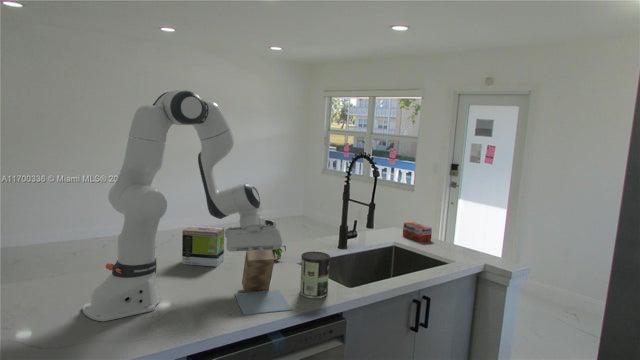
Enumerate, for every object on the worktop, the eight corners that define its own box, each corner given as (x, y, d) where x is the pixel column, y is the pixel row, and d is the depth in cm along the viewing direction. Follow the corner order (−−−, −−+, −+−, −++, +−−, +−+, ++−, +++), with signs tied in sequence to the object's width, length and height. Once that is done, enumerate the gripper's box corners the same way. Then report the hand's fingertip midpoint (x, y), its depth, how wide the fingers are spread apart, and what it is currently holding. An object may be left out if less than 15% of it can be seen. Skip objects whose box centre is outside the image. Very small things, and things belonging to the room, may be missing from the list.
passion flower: (258, 270, 196) (248, 243, 200) (282, 262, 202) (272, 236, 206) (266, 262, 186) (255, 234, 190) (291, 254, 192) (280, 226, 196)
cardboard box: (244, 292, 154) (248, 260, 147) (241, 282, 159) (246, 250, 151) (268, 290, 158) (274, 259, 150) (265, 280, 162) (271, 249, 154)
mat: (234, 294, 152) (234, 293, 152) (278, 290, 158) (278, 289, 158) (243, 315, 137) (243, 314, 137) (292, 310, 142) (292, 309, 142)
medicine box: (431, 241, 243) (432, 227, 242) (420, 242, 238) (421, 228, 237) (412, 234, 255) (413, 221, 254) (401, 235, 251) (402, 222, 250)
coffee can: (325, 287, 164) (327, 251, 162) (330, 298, 154) (332, 259, 152) (297, 287, 162) (299, 251, 160) (301, 298, 152) (303, 259, 150)
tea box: (224, 260, 189) (225, 227, 187) (216, 267, 179) (217, 232, 177) (190, 257, 190) (191, 224, 188) (181, 264, 180) (181, 229, 179)
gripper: (225, 223, 158) (228, 257, 150) (279, 221, 165) (285, 254, 157) (223, 232, 162) (226, 265, 154) (276, 230, 170) (282, 262, 162)
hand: (256, 260), depth 156 cm, fingers closed
